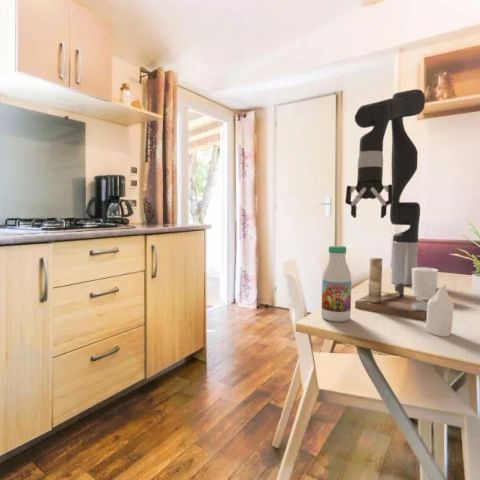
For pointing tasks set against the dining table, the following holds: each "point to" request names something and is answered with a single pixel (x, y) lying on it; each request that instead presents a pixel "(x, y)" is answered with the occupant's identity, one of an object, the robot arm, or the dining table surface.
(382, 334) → the dining table surface
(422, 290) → the white cup
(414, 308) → the corner bracket
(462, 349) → the dining table surface
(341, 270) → the milk bottle
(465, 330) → the dining table surface
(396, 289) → the hinged leg
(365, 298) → the stool seat
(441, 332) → the white pointed cylinder
